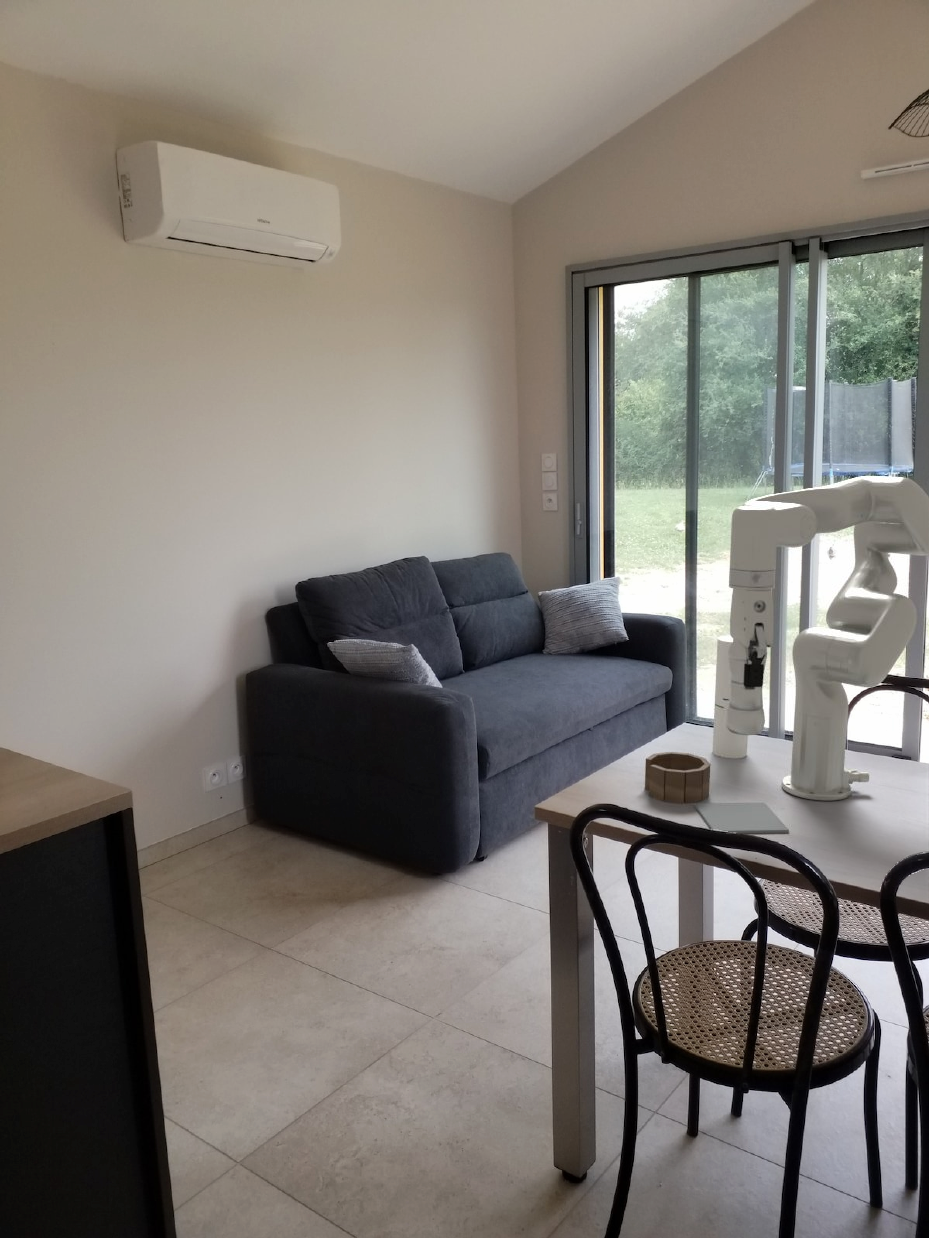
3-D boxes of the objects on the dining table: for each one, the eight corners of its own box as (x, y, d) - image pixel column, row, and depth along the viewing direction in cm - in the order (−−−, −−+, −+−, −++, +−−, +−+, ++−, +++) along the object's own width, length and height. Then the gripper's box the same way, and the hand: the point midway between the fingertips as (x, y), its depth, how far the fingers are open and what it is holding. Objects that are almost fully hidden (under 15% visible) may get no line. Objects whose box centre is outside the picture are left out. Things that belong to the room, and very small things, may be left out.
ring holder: (698, 780, 198) (699, 751, 197) (715, 802, 186) (716, 771, 185) (640, 781, 198) (641, 752, 197) (653, 803, 186) (654, 772, 185)
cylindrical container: (740, 760, 210) (746, 643, 206) (707, 754, 214) (712, 640, 210) (751, 751, 216) (757, 638, 212) (719, 746, 220) (724, 634, 215)
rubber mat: (764, 804, 185) (764, 802, 185) (788, 832, 172) (789, 829, 172) (694, 805, 185) (694, 803, 185) (713, 833, 172) (713, 830, 172)
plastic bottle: (765, 740, 172) (771, 626, 168) (725, 738, 173) (730, 624, 170) (762, 729, 178) (768, 619, 174) (723, 727, 179) (728, 617, 176)
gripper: (791, 586, 162) (785, 694, 166) (757, 571, 179) (752, 669, 183) (745, 587, 162) (740, 694, 165) (716, 572, 179) (711, 670, 182)
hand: (746, 680), depth 174 cm, fingers closed on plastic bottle, 6 cm apart
